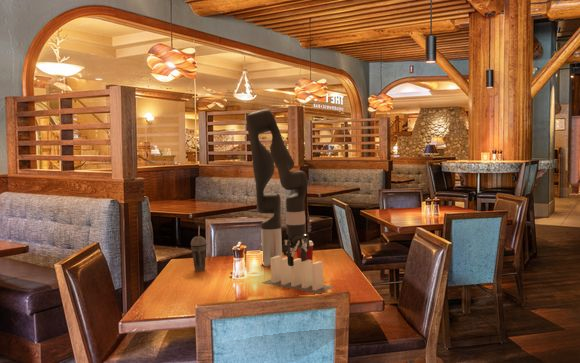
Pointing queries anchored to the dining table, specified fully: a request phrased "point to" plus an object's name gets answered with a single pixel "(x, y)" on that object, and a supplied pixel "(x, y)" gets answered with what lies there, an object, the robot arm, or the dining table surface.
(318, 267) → the tile
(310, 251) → the paper cup
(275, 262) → the tile
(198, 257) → the beverage cup
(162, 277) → the dining table surface
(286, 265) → the tile
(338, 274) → the dining table surface
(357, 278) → the dining table surface
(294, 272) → the tile
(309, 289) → the slate mat
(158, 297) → the dining table surface
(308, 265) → the tile
